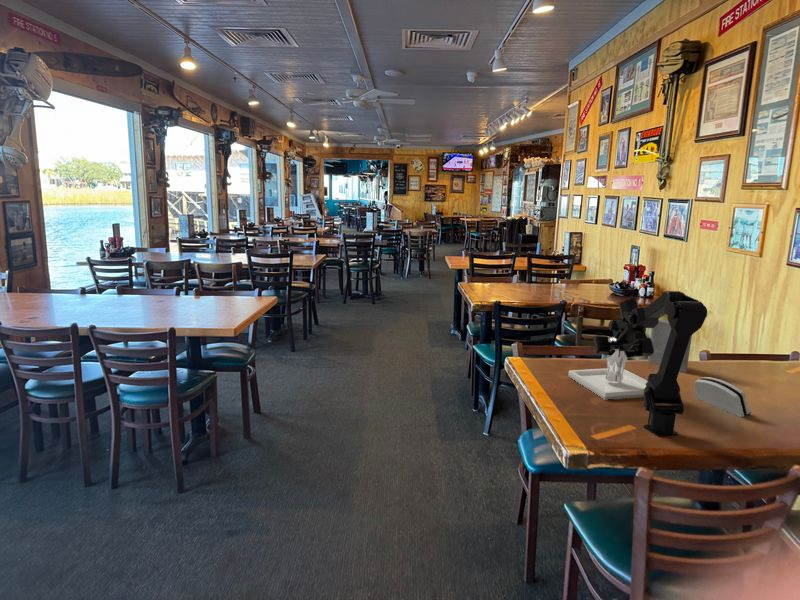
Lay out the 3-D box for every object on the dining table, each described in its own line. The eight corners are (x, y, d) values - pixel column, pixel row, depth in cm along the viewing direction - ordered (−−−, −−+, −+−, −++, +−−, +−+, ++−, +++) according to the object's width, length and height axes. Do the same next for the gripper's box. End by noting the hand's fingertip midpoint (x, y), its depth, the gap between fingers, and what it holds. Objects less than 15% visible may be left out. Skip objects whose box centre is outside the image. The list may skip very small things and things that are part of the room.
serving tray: (662, 395, 171) (663, 388, 170) (604, 400, 166) (605, 392, 165) (620, 373, 192) (621, 367, 191) (568, 377, 187) (568, 370, 186)
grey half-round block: (753, 415, 157) (750, 387, 154) (741, 422, 156) (738, 394, 153) (704, 395, 172) (701, 370, 169) (694, 401, 171) (690, 375, 168)
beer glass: (599, 378, 180) (603, 337, 177) (614, 376, 183) (618, 336, 180) (613, 384, 174) (617, 342, 171) (629, 382, 176) (634, 341, 173)
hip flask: (645, 361, 208) (652, 313, 204) (652, 359, 210) (658, 312, 206) (683, 373, 194) (690, 322, 190) (689, 371, 196) (697, 321, 192)
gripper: (654, 314, 169) (636, 338, 182) (598, 312, 170) (584, 336, 183) (662, 343, 163) (643, 366, 176) (604, 341, 164) (589, 364, 176)
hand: (614, 357), depth 178 cm, fingers closed on beer glass, 7 cm apart
